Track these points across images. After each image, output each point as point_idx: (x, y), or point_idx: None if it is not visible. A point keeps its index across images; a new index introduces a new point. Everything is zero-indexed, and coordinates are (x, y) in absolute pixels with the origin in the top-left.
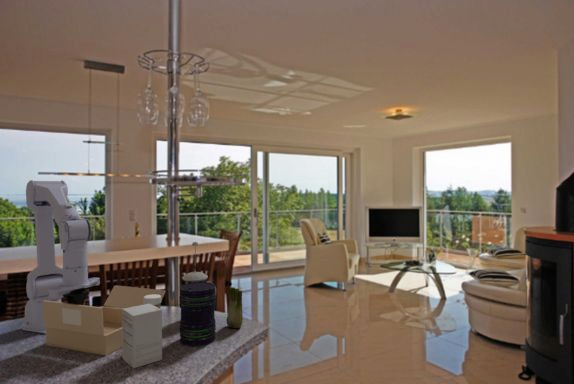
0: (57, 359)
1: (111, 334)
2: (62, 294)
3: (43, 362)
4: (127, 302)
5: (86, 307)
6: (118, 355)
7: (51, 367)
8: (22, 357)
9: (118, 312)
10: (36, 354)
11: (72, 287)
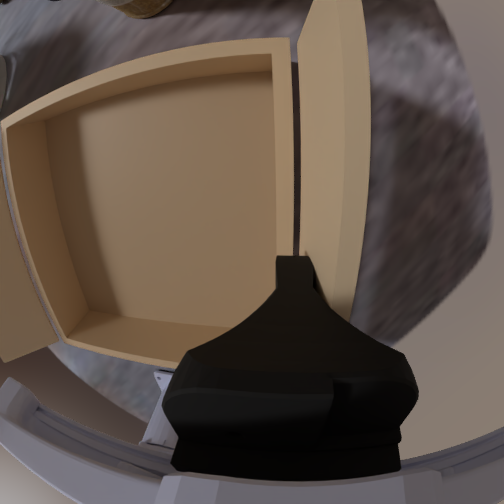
0: (377, 212)
1: (247, 41)
2: (481, 440)
3: (404, 237)
4: (8, 271)
5: (364, 173)
6: (267, 24)
7: (430, 181)
8: (380, 319)
9: (47, 272)
10: (355, 304)
11: (502, 489)
